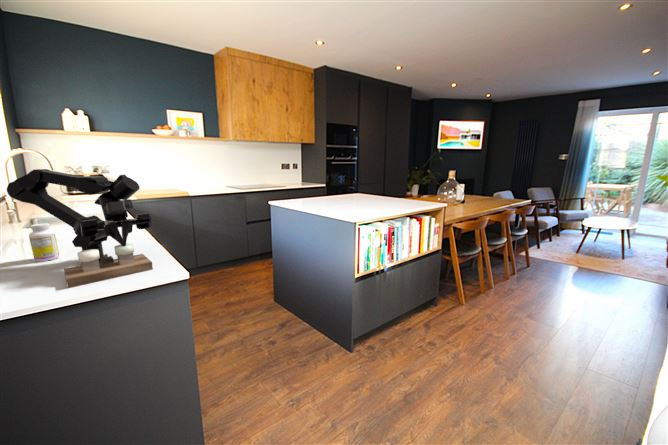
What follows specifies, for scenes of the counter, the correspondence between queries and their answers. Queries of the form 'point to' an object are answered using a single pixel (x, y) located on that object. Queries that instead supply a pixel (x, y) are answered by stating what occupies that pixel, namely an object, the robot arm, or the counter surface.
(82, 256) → the knob cream
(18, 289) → the counter surface
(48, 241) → the supplement bottle
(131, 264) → the knob mount
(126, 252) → the knob sage
